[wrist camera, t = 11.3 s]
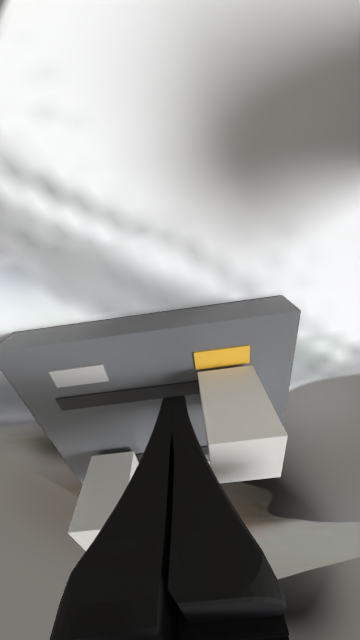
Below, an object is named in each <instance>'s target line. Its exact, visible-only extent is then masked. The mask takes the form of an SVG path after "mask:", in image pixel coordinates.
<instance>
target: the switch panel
mask: <svg viewBox="0 0 360 640" xmlns="http://www.w3.org/2000/svg"><path fill="white" fill-rule="evenodd" d="M300 313H301V310H299V309H298V308H297V307H296V306H295V305H293V304H292V303H291V302H290V301H289V300H287V299H286V298H285V297H284V296H283V295H281V296H274V297H267V298H259V299H252V300H245V301H238V302H231V303H223V304H216V305H209V306H202V307H194V308H187V309H180V310H173V311H165V312H158V313H151V314H144V315H136V316H129V317H122V318H115V319H107V320H100V321H93V322H86V323H79V324H71V325H64V326H57V327H50V328H42V329H35V330H28V331H21V332H14V333H13V334H11V335H10V336H9V337H8V338H6V339H5V340H4V341H3V342H2V343H0V369H1V371H2V372H3V374H4V375H5V376H6V378H7V379H8V381H9V382H10V383H11V385H12V386H13V388H14V389H15V390H16V392H17V393H18V395H19V396H20V398H21V399H22V400H23V402H24V403H25V405H26V406H27V407H28V409H29V410H30V412H31V413H32V414H33V416H34V417H35V419H36V420H37V421H38V423H39V424H40V426H41V427H42V429H43V430H44V431H45V433H46V434H47V436H48V437H49V438H50V440H51V441H52V443H53V444H54V445H55V447H56V448H57V450H58V451H59V453H60V454H61V455H62V457H63V458H64V460H65V461H66V462H67V464H68V465H69V467H70V468H71V469H72V471H73V472H74V474H75V475H76V476H77V478H78V479H79V481H80V482H81V484H82V485H83V483H84V479H85V476H86V473H87V470H88V467H89V464H90V460H91V457H92V456H97V455H106V454H114V453H123V452H131V451H134V453H135V456H136V458H137V460H138V463H139V462H140V460H141V458H142V456H143V453H144V451H145V449H146V446H147V444H148V442H149V439H150V437H151V434H152V431H153V429H154V426H155V423H156V420H157V417H158V414H159V411H160V407H161V403H162V399H163V398H165V397H173V396H181V395H183V396H185V400H186V405H187V411H188V415H189V418H190V421H191V424H192V426H193V429H194V432H195V434H196V437H197V439H198V441H199V444H200V446H201V448H202V450H203V452H204V454H205V457H206V459H207V461H208V463H209V465H210V459H209V452H208V445H207V438H206V432H205V425H204V418H203V412H202V404H201V396H200V389H199V381H198V373H197V372H203V371H211V370H219V369H227V368H235V367H242V366H250V365H253V367H254V369H255V371H256V373H257V375H258V377H259V379H260V381H261V383H262V385H263V387H264V389H265V391H266V393H267V395H268V397H269V399H270V401H271V403H272V405H273V407H274V409H275V411H276V413H277V415H278V417H279V419H280V421H281V423H282V425H283V424H284V418H285V411H286V405H287V398H288V392H289V385H290V379H291V372H292V365H293V359H294V352H295V346H296V339H297V333H298V326H299V320H300ZM210 466H211V465H210Z"/></svg>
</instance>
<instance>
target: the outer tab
mask: <svg viewBox="0 0 360 640" xmlns="http://www.w3.org/2000/svg"><path fill="white" fill-rule="evenodd" d="M197 373H198V381H199V389H200V396H201V404H202V412H203V418H204V425H205V432H206V438H207V445H208V452H209V459H210V465H211V468H212V470H213V472H214V474H215V476H216V478H217V480H218V481H219V483H228V482H237V481H246V480H254V479H264V478H274V477H280V476H281V471H282V465H283V459H284V454H285V447H286V442H287V437H288V436H287V433H286V431H285V429H284V427H283V425H282V423H281V421H280V419H279V417H278V415H277V413H276V411H275V409H274V407H273V405H272V403H271V401H270V399H269V397H268V395H267V393H266V391H265V389H264V387H263V385H262V383H261V381H260V379H259V377H258V375H257V373H256V371H255V369H254V367H253V365H250V366H242V367H235V368H227V369H219V370H211V371H203V372H197Z"/></svg>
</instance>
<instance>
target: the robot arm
mask: <svg viewBox="0 0 360 640" xmlns="http://www.w3.org/2000/svg"><path fill="white" fill-rule="evenodd" d="M285 607H286V601H285V597H284V594H283V591H282V589H281V587H280V584H279V582H278V580H277V578H276V576H275V574H274V572H273V570H272V568H271V566H270V565H269V563H268V561H267V559H266V557H265V555H264V553H263V551H262V549H261V548H260V546H259V545H258V543H257V542H256V540H255V539H254V538H253V536H252V535H251V533H250V532H249V530H248V529H247V527H246V526H245V524H244V523H243V521H242V519H241V518H240V516H239V515H238V513H237V512H236V510H235V508H234V507H233V505H232V503H231V502H230V500H229V498H228V497H227V495H226V493H225V492H224V490H223V488H222V487H221V485H220V483H219V481H218V480H217V478H216V476H215V474H214V472H213V470H212V468H211V466H210V465H209V463H208V461H207V459H206V457H205V454H204V452H203V450H202V448H201V446H200V444H199V441H198V439H197V437H196V434H195V432H194V429H193V426H192V424H191V421H190V418H189V415H188V411H187V405H186V400H185V396H183V395H181V396H173V397H165V398H163V399H162V403H161V407H160V411H159V414H158V417H157V420H156V423H155V426H154V429H153V431H152V434H151V437H150V439H149V442H148V444H147V446H146V449H145V451H144V453H143V456H142V458H141V460H140V462H139V464H138V466H137V468H136V470H135V472H134V474H133V476H132V478H131V480H130V482H129V484H128V485H127V487H126V489H125V491H124V493H123V494H122V496H121V498H120V500H119V501H118V503H117V505H116V506H115V508H114V510H113V511H112V513H111V514H110V516H109V518H108V519H107V521H106V522H105V524H104V525H103V527H102V529H101V530H100V532H99V533H98V535H97V536H96V538H95V539H94V541H93V542H92V544H91V545H90V546H89V548H88V549H87V551H86V552H85V554H84V555H83V557H82V558H81V559H80V561H79V562H78V564H77V565H76V567H75V568H74V569H73V571H72V572H71V575H70V577H69V580H68V582H67V585H66V587H65V590H64V593H63V596H62V599H61V601H60V605H59V608H58V612H57V615H56V619H55V622H54V626H53V630H52V633H51V637H50V640H289V637H288V636H289V633H288V629H287V625H286V621H285V617H284V614H283V612H284V610H285Z"/></svg>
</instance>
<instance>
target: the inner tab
mask: <svg viewBox="0 0 360 640" xmlns="http://www.w3.org/2000/svg"><path fill="white" fill-rule="evenodd" d="M138 464H139V463H138V460H137V458H136V456H135V453H134V451H131V452H123V453H114V454H106V455H97V456H92V457H91V460H90V464H89V467H88V470H87V473H86V476H85V479H84V483H83V486H82V489H81V492H80V495H79V499H78V502H77V505H76V508H75V511H74V515H73V518H72V521H71V524H70V528H69V530H68V534H70V535H71V537H72V538H74V540H75V541H76V542H77V543H78V544H79V545H80V546H81V547H82V548H83V549H84V550H85V551H87V549H88V548H89V546H90V545H91V544H92V542H93V541H94V539H95V538H96V536H97V535H98V533H99V532H100V530H101V529H102V527H103V525H104V524H105V522H106V521H107V519H108V518H109V516H110V514H111V513H112V511H113V510H114V508H115V506H116V505H117V503H118V501H119V500H120V498H121V496H122V494H123V493H124V491H125V489H126V487H127V485H128V484H129V482H130V480H131V478H132V476H133V474H134V472H135V470H136V468H137V466H138Z"/></svg>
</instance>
